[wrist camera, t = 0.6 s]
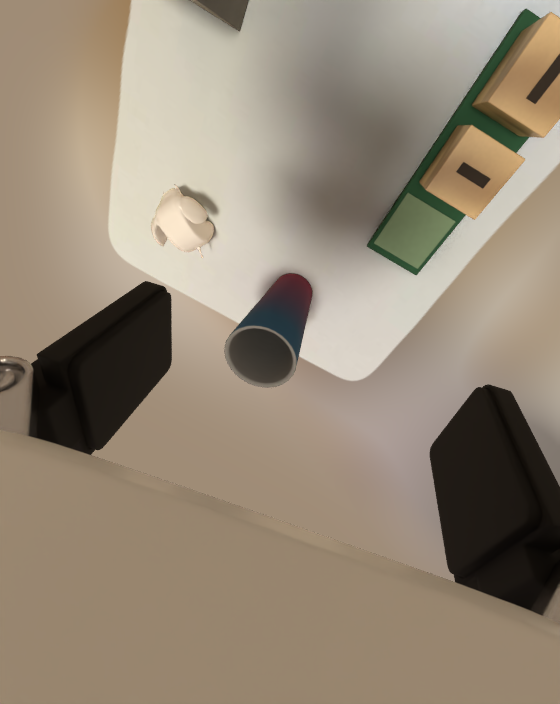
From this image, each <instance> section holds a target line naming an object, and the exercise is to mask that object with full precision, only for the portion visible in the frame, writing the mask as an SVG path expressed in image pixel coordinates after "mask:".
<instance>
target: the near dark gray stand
mask: <svg viewBox="0 0 560 704" xmlns="http://www.w3.org/2000/svg"><path fill="white" fill-rule="evenodd" d="M190 1H192V2H193V3H195V4H196V5H198V6H200V7H201V8H203V9H204V10H206V11H208V12H209V13H211V14H212V15H214V16H216V17H217V18H219V19H220V20H222V21H224V22H225V23H227V24H228V25H230V26H232V27H233V28H235V29H236V30H238V31H240V28H241V25H242V21H243V18H244V14H245V11H246V7H247V3H248V0H190Z"/></svg>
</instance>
